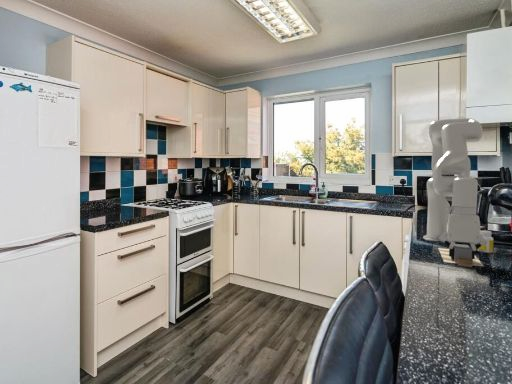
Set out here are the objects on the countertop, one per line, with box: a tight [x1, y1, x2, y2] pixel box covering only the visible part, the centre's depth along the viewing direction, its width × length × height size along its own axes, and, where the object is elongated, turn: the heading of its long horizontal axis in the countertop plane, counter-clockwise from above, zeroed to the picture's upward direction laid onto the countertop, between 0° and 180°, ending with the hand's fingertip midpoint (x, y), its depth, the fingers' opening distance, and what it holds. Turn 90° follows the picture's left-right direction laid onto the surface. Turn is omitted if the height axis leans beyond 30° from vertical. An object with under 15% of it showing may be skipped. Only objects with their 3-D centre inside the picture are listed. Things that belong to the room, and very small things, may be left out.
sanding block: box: [454, 243, 472, 262], centre depth 113 cm, size 8×5×5 cm, turn 154°
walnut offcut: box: [456, 257, 473, 268], centre depth 107 cm, size 4×4×2 cm
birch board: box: [437, 247, 485, 267], centre depth 118 cm, size 22×12×2 cm, turn 154°
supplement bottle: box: [476, 229, 494, 254], centre depth 126 cm, size 5×5×10 cm
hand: (461, 259), depth 113 cm, fingers closed on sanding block, 5 cm apart
